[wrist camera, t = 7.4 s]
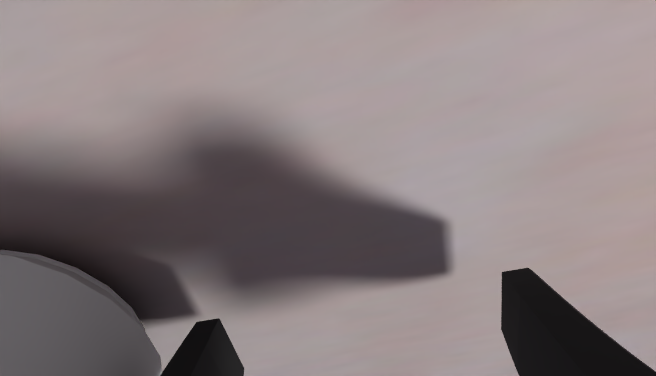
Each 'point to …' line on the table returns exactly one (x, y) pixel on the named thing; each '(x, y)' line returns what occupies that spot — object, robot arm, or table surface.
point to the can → (67, 323)
